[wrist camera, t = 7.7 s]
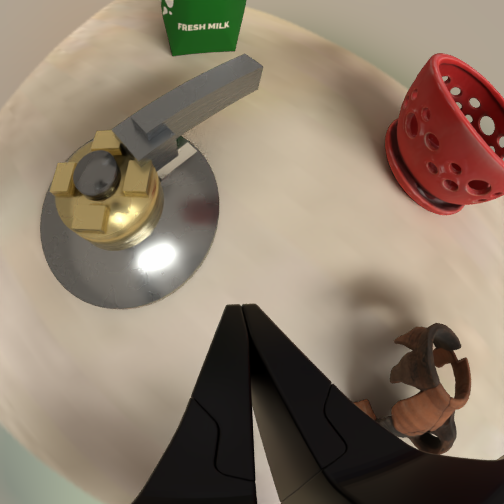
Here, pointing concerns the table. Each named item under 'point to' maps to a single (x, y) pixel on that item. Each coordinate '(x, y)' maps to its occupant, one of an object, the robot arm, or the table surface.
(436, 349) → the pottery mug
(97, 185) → the spindle flange
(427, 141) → the plant pot
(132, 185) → the lever valve handle
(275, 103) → the table surface
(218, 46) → the milk carton
